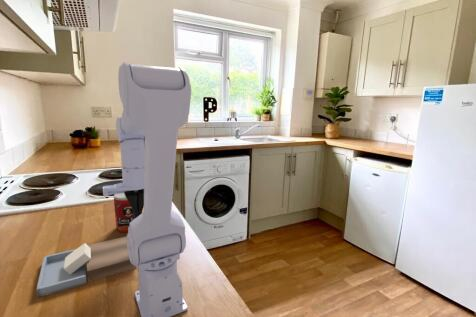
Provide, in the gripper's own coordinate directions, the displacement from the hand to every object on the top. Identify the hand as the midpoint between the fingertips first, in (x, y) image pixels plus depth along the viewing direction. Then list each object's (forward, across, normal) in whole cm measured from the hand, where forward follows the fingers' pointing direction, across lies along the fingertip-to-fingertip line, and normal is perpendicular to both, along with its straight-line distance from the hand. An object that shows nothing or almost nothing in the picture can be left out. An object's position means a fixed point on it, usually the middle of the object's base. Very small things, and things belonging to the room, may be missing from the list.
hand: (137, 217), depth 66 cm
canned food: (+10, 0, -16) cm, 19 cm away
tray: (+9, +16, +1) cm, 19 cm away
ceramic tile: (+8, +13, +1) cm, 15 cm away
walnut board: (+9, +7, +1) cm, 12 cm away
